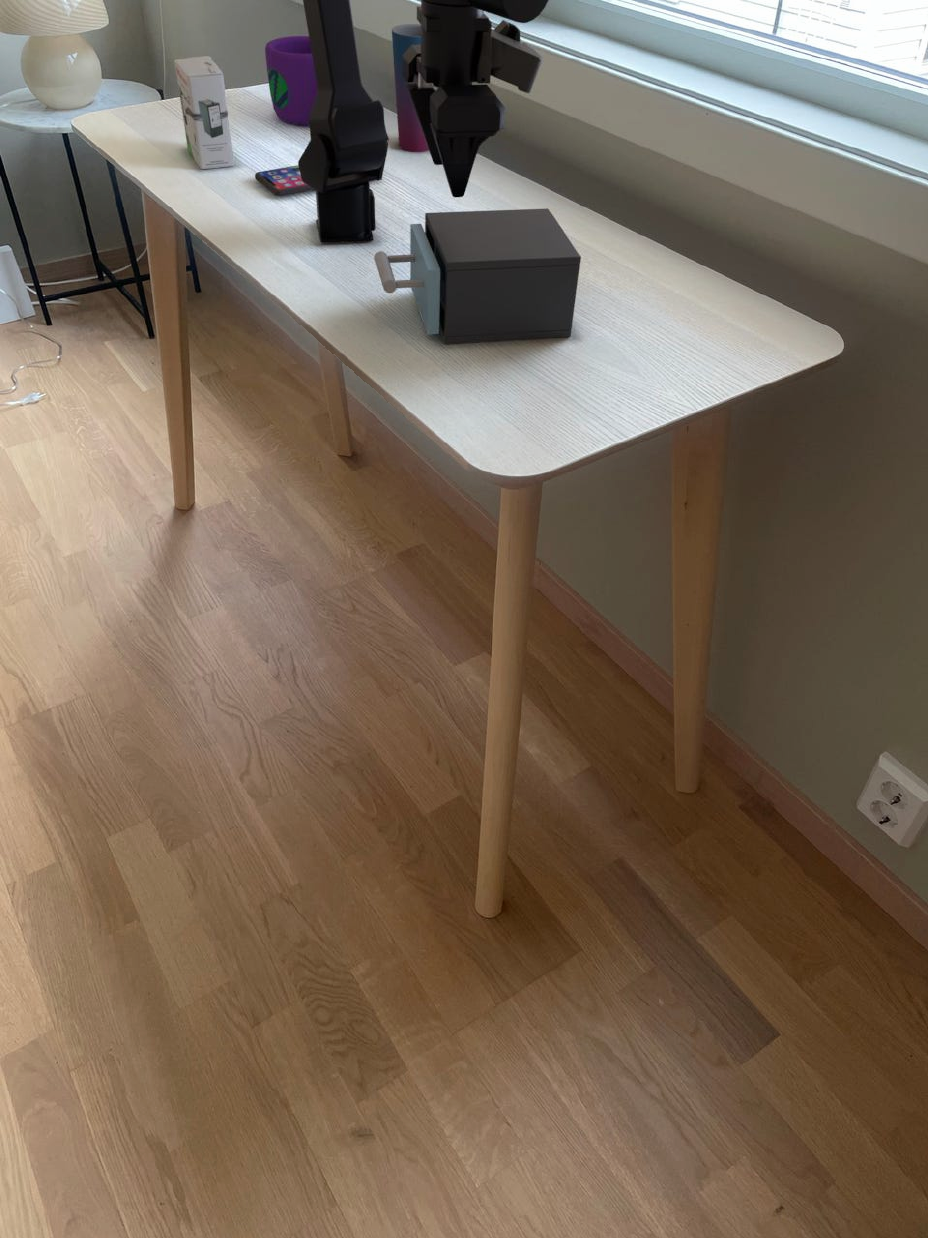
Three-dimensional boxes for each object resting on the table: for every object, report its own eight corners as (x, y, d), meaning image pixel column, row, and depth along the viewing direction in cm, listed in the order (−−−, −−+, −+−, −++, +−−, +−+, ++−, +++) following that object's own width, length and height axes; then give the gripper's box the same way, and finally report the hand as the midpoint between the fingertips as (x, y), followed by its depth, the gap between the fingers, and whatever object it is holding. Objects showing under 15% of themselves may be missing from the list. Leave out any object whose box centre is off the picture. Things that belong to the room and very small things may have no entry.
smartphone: (377, 173, 127) (276, 191, 121) (377, 180, 128) (277, 198, 121) (351, 155, 131) (252, 171, 125) (351, 162, 132) (253, 179, 126)
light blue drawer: (387, 336, 94) (385, 271, 89) (372, 287, 102) (370, 225, 97) (544, 327, 97) (551, 264, 92) (518, 280, 105) (524, 219, 100)
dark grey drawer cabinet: (444, 344, 95) (446, 262, 89) (424, 290, 104) (425, 212, 98) (570, 336, 98) (581, 256, 92) (540, 284, 106) (548, 207, 100)
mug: (257, 113, 146) (249, 41, 139) (315, 101, 152) (311, 31, 145) (322, 144, 137) (318, 68, 130) (382, 130, 143) (381, 56, 136)
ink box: (186, 149, 133) (171, 56, 125) (220, 146, 135) (208, 54, 126) (200, 170, 128) (186, 74, 119) (236, 166, 129) (224, 71, 121)
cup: (404, 155, 135) (404, 37, 125) (385, 141, 139) (383, 25, 129) (446, 150, 137) (449, 34, 127) (426, 136, 142) (427, 22, 131)
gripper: (568, 23, 78) (549, 211, 89) (512, -23, 91) (501, 146, 102) (440, 24, 76) (436, 216, 87) (401, -23, 89) (402, 150, 100)
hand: (448, 179), depth 94 cm, fingers open, 9 cm apart
